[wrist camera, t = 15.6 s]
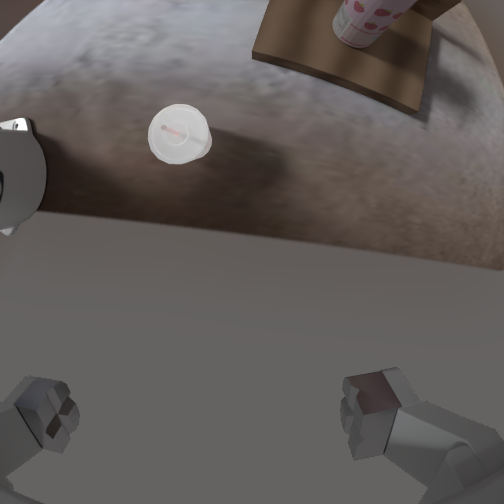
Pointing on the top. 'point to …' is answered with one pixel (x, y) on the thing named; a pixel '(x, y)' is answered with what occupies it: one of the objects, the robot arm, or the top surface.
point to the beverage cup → (179, 134)
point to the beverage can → (367, 19)
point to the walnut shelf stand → (352, 49)
